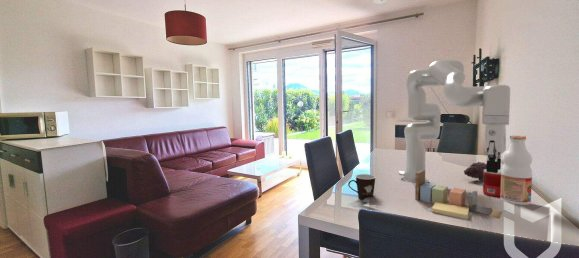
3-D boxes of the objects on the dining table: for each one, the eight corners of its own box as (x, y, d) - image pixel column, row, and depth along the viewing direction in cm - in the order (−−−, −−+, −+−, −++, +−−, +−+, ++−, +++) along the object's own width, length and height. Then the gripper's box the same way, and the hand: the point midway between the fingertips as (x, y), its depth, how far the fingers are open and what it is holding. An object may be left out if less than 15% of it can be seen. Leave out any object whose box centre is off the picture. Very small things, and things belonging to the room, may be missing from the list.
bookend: (468, 211, 97) (469, 195, 96) (472, 205, 102) (473, 190, 101) (488, 215, 92) (489, 199, 92) (492, 209, 97) (492, 194, 97)
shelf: (415, 202, 110) (415, 173, 109) (422, 198, 116) (422, 169, 115) (499, 222, 90) (500, 186, 89) (502, 215, 96) (503, 181, 95)
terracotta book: (465, 204, 103) (465, 189, 103) (461, 209, 99) (461, 193, 98) (453, 201, 106) (454, 187, 106) (449, 206, 102) (449, 191, 101)
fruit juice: (495, 199, 112) (498, 134, 109) (522, 200, 109) (525, 134, 107) (506, 207, 103) (509, 137, 101) (536, 209, 100) (539, 137, 98)
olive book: (431, 202, 106) (431, 188, 106) (436, 198, 111) (437, 184, 110) (442, 205, 103) (442, 190, 103) (447, 200, 108) (447, 186, 107)
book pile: (426, 214, 98) (426, 206, 98) (434, 207, 105) (434, 200, 104) (466, 224, 89) (467, 216, 89) (472, 216, 95) (473, 208, 95)
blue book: (420, 200, 109) (420, 186, 109) (425, 196, 114) (425, 182, 113) (430, 202, 107) (430, 188, 106) (435, 198, 111) (435, 184, 111)
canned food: (509, 198, 113) (510, 173, 112) (488, 197, 114) (489, 172, 113) (498, 192, 120) (499, 169, 119) (479, 191, 122) (480, 168, 121)
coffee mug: (375, 195, 121) (375, 174, 120) (375, 202, 112) (375, 179, 112) (350, 193, 124) (350, 173, 124) (348, 199, 116) (347, 178, 115)
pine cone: (469, 183, 134) (469, 164, 133) (457, 178, 144) (457, 160, 143) (503, 182, 134) (504, 163, 133) (489, 177, 144) (489, 159, 143)
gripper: (505, 122, 83) (503, 177, 85) (512, 119, 95) (510, 167, 96) (477, 121, 89) (475, 173, 90) (486, 119, 100) (485, 165, 102)
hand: (493, 170), depth 93 cm, fingers open, 5 cm apart
